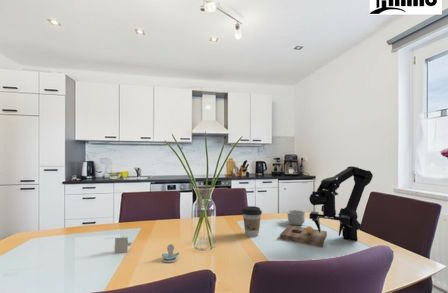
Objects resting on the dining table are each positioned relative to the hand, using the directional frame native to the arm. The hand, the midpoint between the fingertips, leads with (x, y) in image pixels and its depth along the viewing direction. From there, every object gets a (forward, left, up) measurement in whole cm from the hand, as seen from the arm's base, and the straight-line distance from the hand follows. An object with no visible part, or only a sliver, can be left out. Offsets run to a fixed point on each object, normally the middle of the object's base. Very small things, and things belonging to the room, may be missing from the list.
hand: (329, 234), depth 116 cm
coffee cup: (+39, +11, -4) cm, 41 cm away
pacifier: (+57, +57, -4) cm, 80 cm away
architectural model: (+82, +63, -5) cm, 103 cm away
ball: (+10, 0, 0) cm, 10 cm away
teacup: (+23, -23, -4) cm, 33 cm away
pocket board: (+13, 0, -4) cm, 13 cm away
